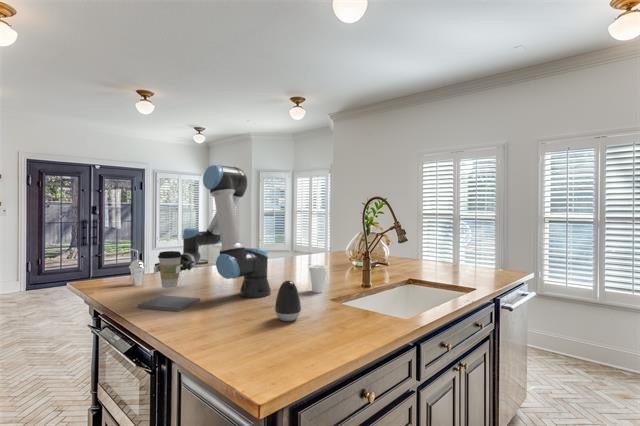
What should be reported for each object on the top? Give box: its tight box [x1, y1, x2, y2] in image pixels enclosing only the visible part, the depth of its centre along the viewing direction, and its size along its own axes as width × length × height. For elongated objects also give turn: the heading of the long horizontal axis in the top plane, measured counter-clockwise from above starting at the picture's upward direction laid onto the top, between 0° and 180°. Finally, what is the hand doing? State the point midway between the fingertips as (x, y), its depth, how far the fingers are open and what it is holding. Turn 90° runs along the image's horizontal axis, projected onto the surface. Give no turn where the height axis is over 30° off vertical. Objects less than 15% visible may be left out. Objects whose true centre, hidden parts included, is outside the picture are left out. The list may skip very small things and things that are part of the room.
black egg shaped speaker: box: [274, 280, 302, 322], centre depth 137 cm, size 10×10×15 cm
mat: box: [137, 295, 201, 312], centre depth 155 cm, size 20×16×2 cm
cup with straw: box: [128, 248, 147, 287], centre depth 193 cm, size 8×9×20 cm
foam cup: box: [308, 264, 329, 294], centre depth 182 cm, size 10×9×13 cm
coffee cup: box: [157, 250, 182, 289], centre depth 155 cm, size 10×10×15 cm
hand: (165, 270), depth 151 cm, fingers closed on coffee cup, 9 cm apart
